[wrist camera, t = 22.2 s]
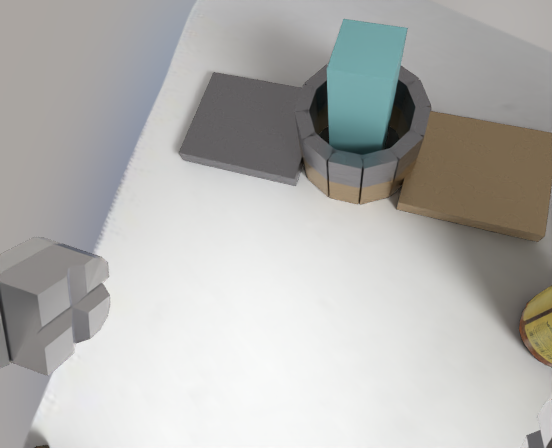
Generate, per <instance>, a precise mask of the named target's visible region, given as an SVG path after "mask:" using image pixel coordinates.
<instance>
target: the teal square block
mask: <svg viewBox="0 0 552 448" xmlns="http://www.w3.org/2000/svg"><path fill="white" fill-rule="evenodd" d="M407 29H408V28H404V27H397V26H390V25H383V24H376V23H369V22H362V21H355V20H347V19H343V22H342V25H341V28H340V31H339V34H338V37H337V40H336V43H335V46H334V49H333V52H332V55H331V58H330V61H329V64H328V67H327V92H328V121H329V145H330V146H331V147H333V148H334V149H335V150H340V151H345V152H350V153H355V154H359V155H365V154H369V153H373V152H377V151H381V150H384V147H385V143H386V139H387V135H388V130H389V124H390V119H391V114H392V108H393V103H394V98H395V92H396V87H397V82H398V77H399V71H400V66H401V61H402V55H403V50H404V45H405V39H406V34H407Z"/></svg>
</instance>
